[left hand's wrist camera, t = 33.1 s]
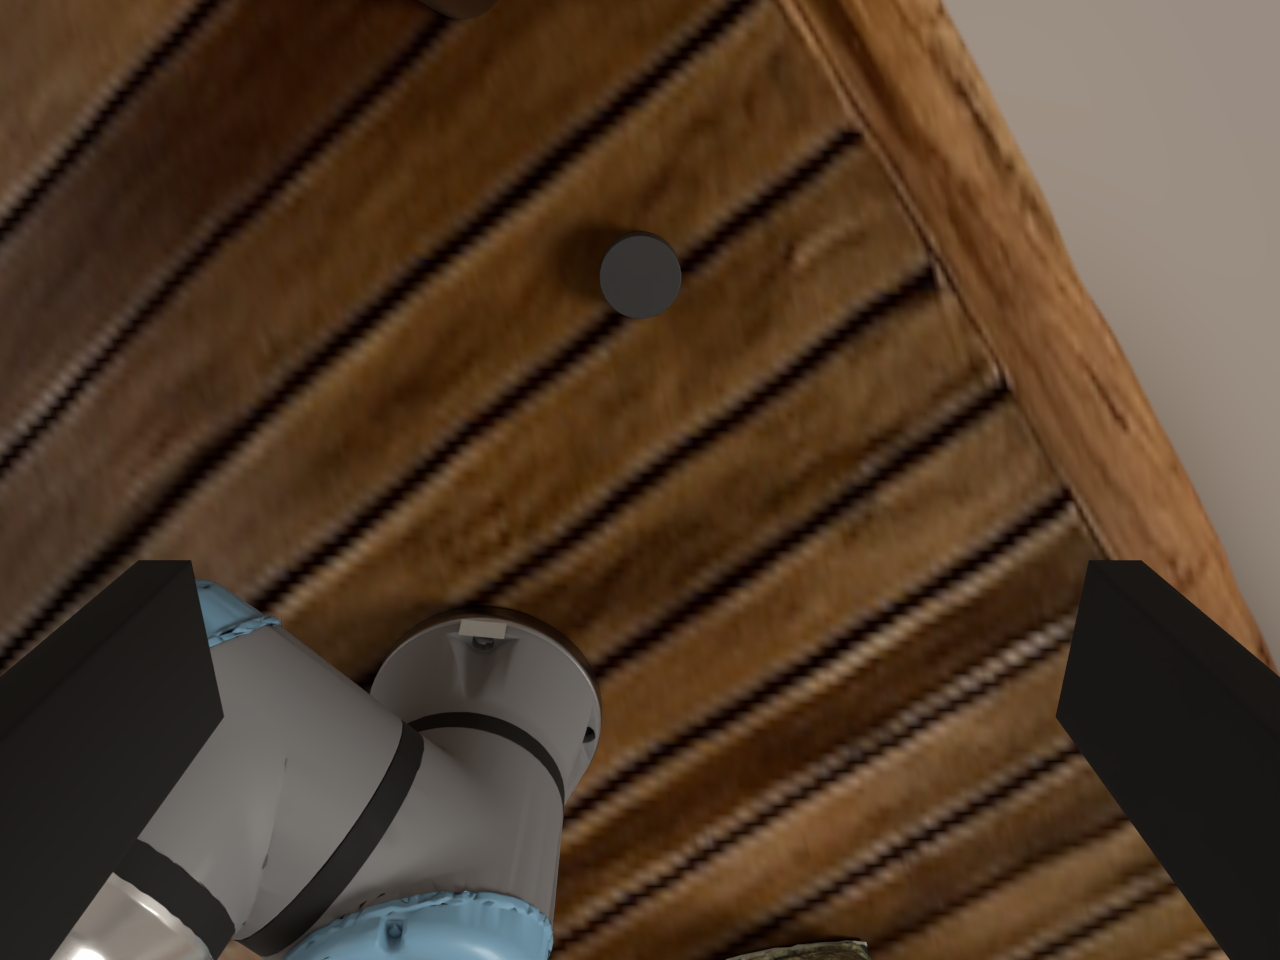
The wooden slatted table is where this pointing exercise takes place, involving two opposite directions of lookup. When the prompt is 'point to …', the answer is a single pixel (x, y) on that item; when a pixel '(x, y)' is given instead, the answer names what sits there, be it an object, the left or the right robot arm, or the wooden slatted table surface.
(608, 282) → the cap
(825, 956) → the fossil
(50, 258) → the wooden slatted table surface
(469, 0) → the bottle
